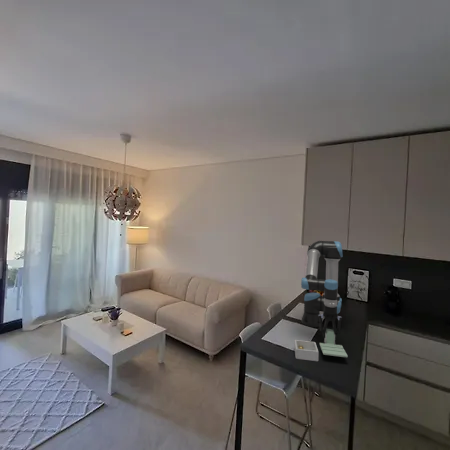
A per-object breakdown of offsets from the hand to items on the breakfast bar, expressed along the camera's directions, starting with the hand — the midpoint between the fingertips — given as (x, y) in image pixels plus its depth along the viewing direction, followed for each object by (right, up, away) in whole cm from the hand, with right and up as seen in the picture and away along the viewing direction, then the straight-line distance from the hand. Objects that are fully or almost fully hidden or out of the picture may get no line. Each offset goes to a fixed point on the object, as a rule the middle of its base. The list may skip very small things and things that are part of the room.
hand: (329, 343), depth 154 cm
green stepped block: (-1, 0, -7) cm, 7 cm away
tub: (-17, -4, -7) cm, 19 cm away
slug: (-19, -3, -4) cm, 19 cm away
